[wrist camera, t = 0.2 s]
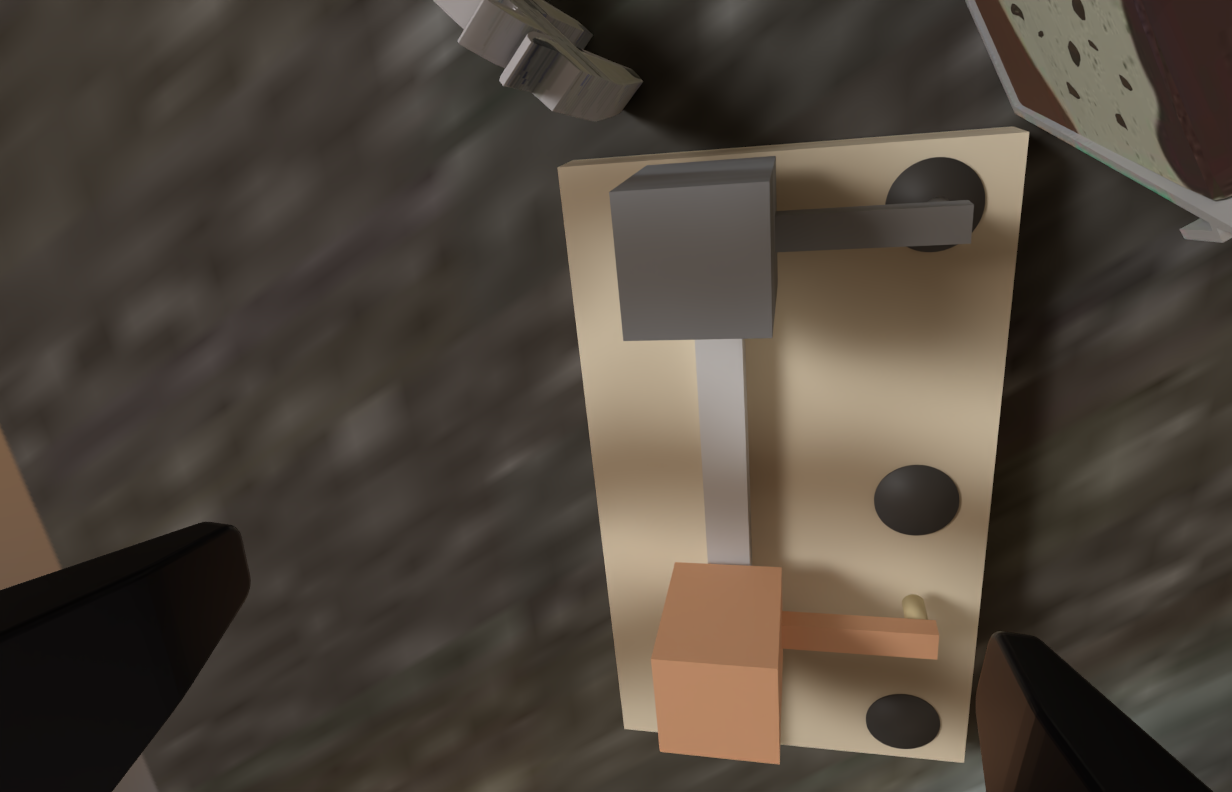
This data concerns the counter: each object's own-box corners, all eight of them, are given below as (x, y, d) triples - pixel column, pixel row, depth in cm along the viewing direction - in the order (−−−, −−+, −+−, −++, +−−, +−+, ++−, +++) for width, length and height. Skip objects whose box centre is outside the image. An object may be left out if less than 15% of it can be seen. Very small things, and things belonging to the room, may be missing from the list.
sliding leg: (924, 646, 22) (953, 782, 18) (684, 630, 24) (660, 751, 20) (931, 558, 21) (963, 683, 17) (678, 548, 23) (650, 659, 19)
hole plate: (955, 725, 26) (999, 920, 20) (632, 697, 28) (589, 862, 23) (1012, 126, 19) (1109, 158, 13) (572, 160, 21) (486, 200, 15)
